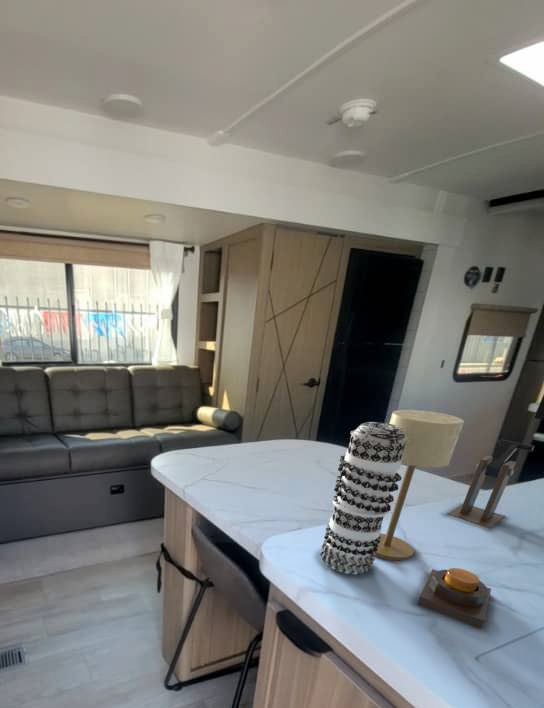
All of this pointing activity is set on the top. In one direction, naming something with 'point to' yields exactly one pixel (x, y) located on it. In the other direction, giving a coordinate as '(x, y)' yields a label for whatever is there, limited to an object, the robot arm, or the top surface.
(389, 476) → the decorative candle
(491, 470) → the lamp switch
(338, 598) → the top surface
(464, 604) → the button block
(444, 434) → the lamp
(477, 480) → the stand
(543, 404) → the robot arm
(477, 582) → the button
